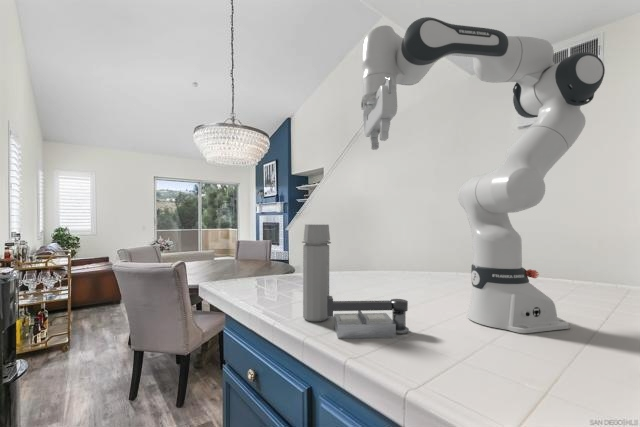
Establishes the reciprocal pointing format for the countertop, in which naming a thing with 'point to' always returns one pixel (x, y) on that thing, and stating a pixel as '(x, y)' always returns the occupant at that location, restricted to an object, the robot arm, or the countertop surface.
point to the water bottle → (315, 272)
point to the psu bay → (364, 325)
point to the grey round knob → (400, 322)
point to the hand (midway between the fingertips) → (379, 144)
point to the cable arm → (365, 305)
